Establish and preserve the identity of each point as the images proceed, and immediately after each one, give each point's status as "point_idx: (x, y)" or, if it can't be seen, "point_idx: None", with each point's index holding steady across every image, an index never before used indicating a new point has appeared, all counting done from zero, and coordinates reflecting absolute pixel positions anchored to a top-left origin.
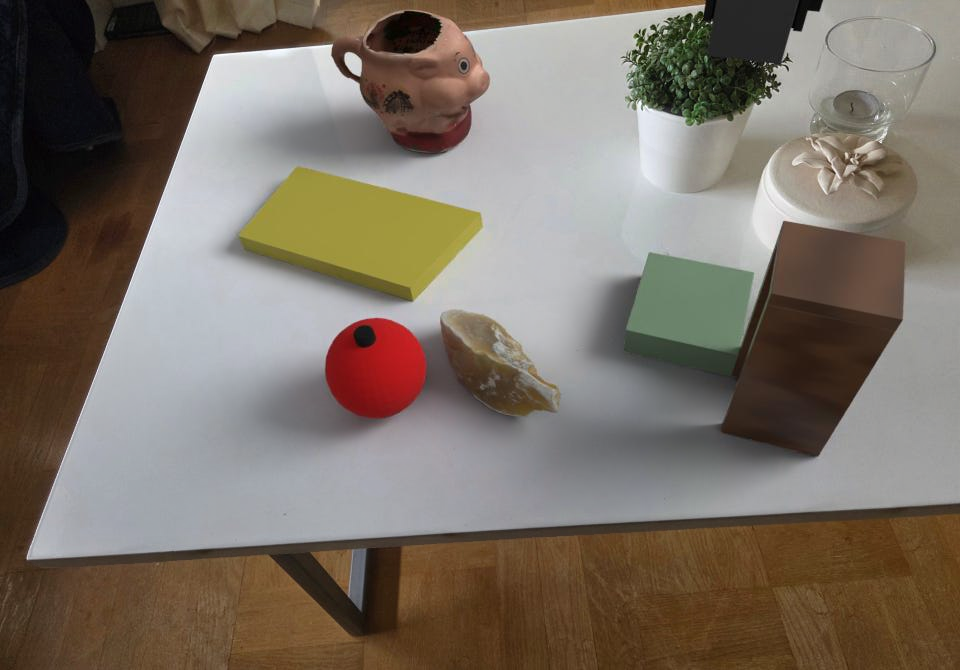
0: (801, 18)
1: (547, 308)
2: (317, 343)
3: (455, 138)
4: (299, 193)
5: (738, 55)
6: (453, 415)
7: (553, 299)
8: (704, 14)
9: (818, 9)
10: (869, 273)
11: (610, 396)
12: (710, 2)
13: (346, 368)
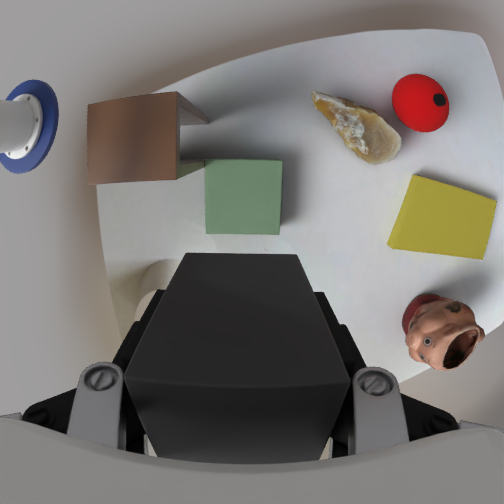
0: (158, 299)
1: (335, 184)
2: (447, 137)
3: (411, 307)
4: (480, 239)
5: (249, 255)
6: (367, 95)
7: (332, 192)
8: (323, 295)
9: (137, 321)
10: (108, 139)
11: (280, 124)
12: (322, 308)
13: (437, 84)
